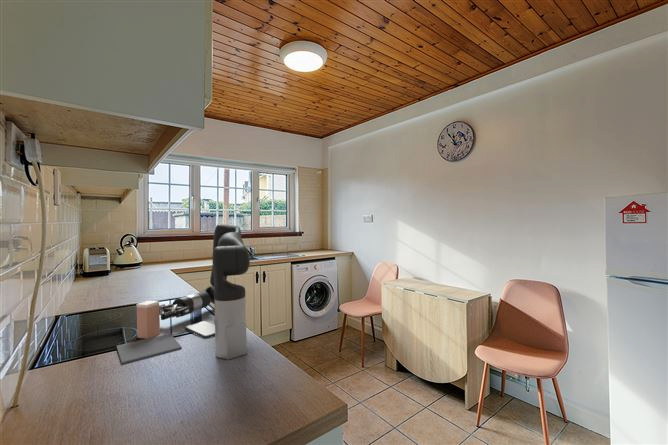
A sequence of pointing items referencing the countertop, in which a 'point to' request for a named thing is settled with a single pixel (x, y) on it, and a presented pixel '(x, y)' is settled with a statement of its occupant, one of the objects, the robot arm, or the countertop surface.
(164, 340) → the charcoal mat
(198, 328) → the phone case
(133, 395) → the countertop surface
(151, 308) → the terracotta block
